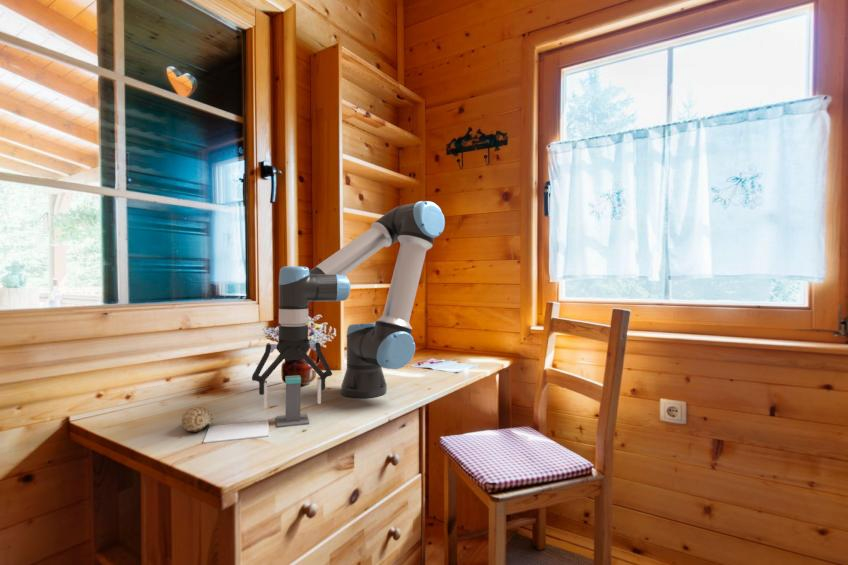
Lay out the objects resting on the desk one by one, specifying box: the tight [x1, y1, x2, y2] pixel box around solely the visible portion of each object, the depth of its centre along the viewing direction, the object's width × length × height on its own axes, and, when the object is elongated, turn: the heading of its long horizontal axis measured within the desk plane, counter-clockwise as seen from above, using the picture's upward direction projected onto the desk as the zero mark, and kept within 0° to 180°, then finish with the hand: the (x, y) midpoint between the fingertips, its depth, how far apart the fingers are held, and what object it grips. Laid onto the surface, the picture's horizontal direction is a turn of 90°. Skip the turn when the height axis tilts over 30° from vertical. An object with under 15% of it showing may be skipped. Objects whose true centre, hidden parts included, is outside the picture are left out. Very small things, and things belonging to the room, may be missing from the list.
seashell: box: [180, 406, 213, 433], centre depth 108 cm, size 8×6×10 cm
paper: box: [202, 420, 270, 444], centre depth 106 cm, size 14×11×1 cm
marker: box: [284, 374, 302, 422], centre depth 115 cm, size 4×4×11 cm
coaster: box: [275, 413, 310, 428], centre depth 115 cm, size 8×8×1 cm
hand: (292, 404), depth 115 cm, fingers open, 13 cm apart
